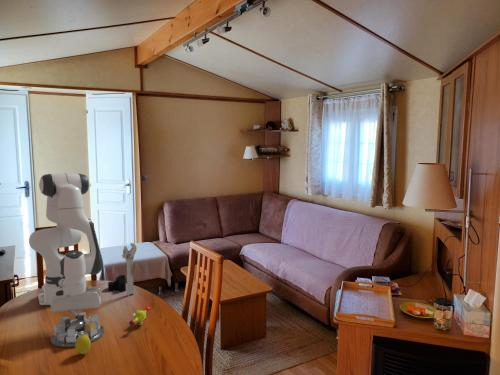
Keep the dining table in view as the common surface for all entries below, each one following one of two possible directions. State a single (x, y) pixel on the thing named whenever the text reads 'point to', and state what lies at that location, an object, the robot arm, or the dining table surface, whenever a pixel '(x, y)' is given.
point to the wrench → (129, 266)
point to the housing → (79, 328)
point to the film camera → (118, 284)
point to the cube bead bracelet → (70, 334)
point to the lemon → (82, 344)
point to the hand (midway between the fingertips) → (76, 318)
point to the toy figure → (139, 316)
